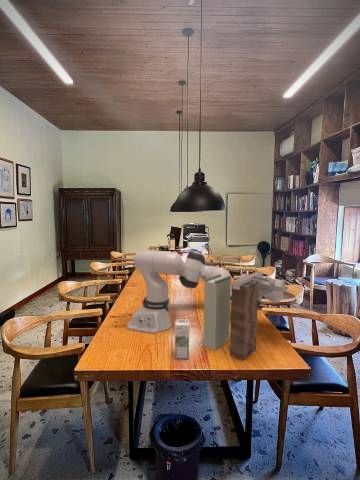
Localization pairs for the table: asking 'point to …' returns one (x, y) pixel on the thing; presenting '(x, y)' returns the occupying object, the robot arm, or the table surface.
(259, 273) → the steel bar
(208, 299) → the sage stand
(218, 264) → the coffeepot
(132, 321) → the robot arm
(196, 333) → the table surface
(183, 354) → the syrup box
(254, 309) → the walnut stand
